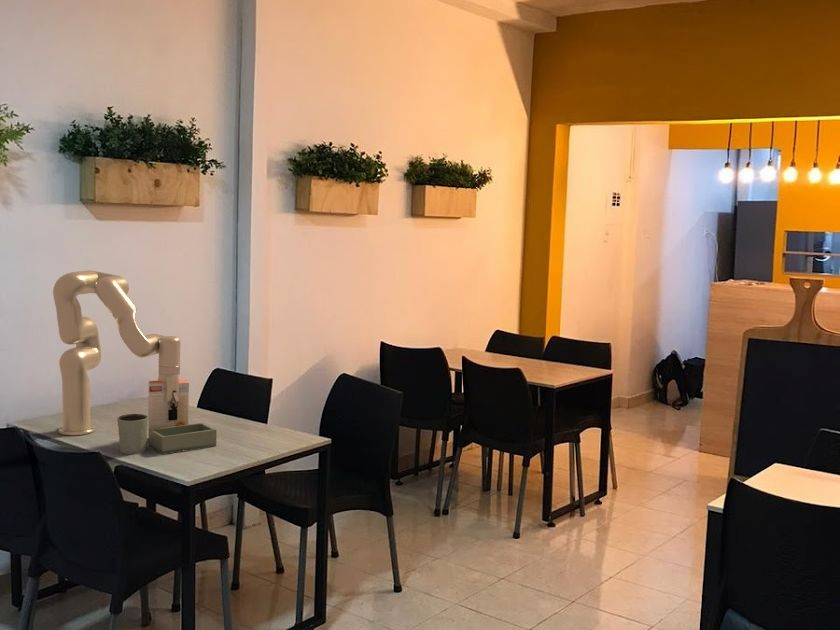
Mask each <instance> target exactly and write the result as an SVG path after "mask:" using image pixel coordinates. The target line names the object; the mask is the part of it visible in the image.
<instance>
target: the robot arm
mask: <svg viewBox="0 0 840 630" xmlns="http://www.w3.org/2000/svg"><path fill="white" fill-rule="evenodd" d="M129 289H130V286H129V282H128V281H127V279H125V278H124V277H122V276H121V275H116V274H112V273H105V272H101V271H96V270H81V271H80V270H78V271H72V272H68V273H65V274H63V275H62V276H60V277H59V278H58V279H57V280H56V281H55V283H54V284H53V290H52V296H53V300H54V306H55V310H56V311H55V312H56V319H57V327H58V328H57V329H58V334H59V337H60V340H61V341H62V343H64V344H65V345H75V346H76V347H73V348H69V349H66V350H65V351H64V352H63V353H62V354H61V355H60V358H59V361H58V362H59V370H60V375H61V387H62V390H61V391H62V426H61V427H59V429H58V431H57V432H58V433H59V434H60V435H64V436H82V435H88V434H91V433H93V432H95V430H96V427H95V426H93V425H91V389H90V388H91V384H90V379H89V376H88V371H90V370H93V369H95V368H96V367H98V366H99V364H101V361H102V349H101V343H100V335H99V330H98V326H97V324H96V322H95V321H94V320H93V319H92V318H90V317H88V316H83V315H82V308H81V307H82V306H81V304H80V302H79V300H78V298H77V296H79V295H87V294H94V295H95V294H96V296H97V297H98V299H99V300H100V301H101V302H102V303H103V304H102V305H104V306H105V308H106V309H107V310H108V311H109V313H110V314H111V315H112V317H113V318H114V319H115V321H116V324H117V329H118V333H119V335H120V338H121V340H122V341H123V343H124V344H125V345H126V346H127V348H128V349H129V351H130V352H131V353H132V354H134V355H135V356H136V357H138V358H147V357H151V356H153V355H157V354H158V373H157V374H158V377H157V381H160V382H162V383H164V402H165V403H169V409H170V410H168V420H169V421H171V420H177V409H178V404H179V380H180V376H179V375H180V374H181V339H180V338H179V337H178V336H174V335H173V336H172V335H162V334H157V333H150V334H146V335H144V334H143V332H142V331H141V330H140V328H139V327H138V325H137V323H136V318H135V317H136V313H137V309H138V308H137V306H136V305H135V304H134V302H133V301H132V299H131V298H130V297H129V295H128V294H129V291H130V290H129ZM172 399H174V401H170V400H172ZM171 403H173V404H172V405H171Z"/></svg>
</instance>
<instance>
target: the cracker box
mask: <svg viewBox="0 0 840 630" xmlns="http://www.w3.org/2000/svg"><path fill="white" fill-rule="evenodd" d="M189 392H190V382H189V381H188V379H179V404H178V409H177V420H171V421H169V420H168V410H170V409H169V403H165V402H164V383H162V382H160V381H158V380H148V397H147V398H148V402H147V403H148V415H147V416H148V426H147V437H149V430H151V429H158V428H166V427H173V426H181V425H189V417H190V415H189V411H190V410H189V409H190V408H189V407H190V404H189V403H190V401H189V399H190V395H189V394H190V393H189ZM170 401H174V399H172V400H170ZM172 404H173V403H171V405H172Z"/></svg>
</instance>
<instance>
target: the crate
mask: <svg viewBox="0 0 840 630" xmlns="http://www.w3.org/2000/svg"><path fill="white" fill-rule="evenodd" d="M148 441H149V443H148V444H149V445H148V446H149V447H150V448H151V449H153V450H155V451H157V452H158V453H160V454H161V455H165V453H167V454H172V453H171V452H174V453H178V452H177V451H180V452H184V451H183V450H187V451H192V450H191V449H193V450H198V448H200V449H205V448H204V447H206V448H212V447H211V446H213V447H216V446H217V429H216V428H215V427H211V426H210V425H208V424H206V423H204V422H197V423H190V424H189V423H188V425H181V426H173V427H166V428H158V429H151V430H149V436H148Z"/></svg>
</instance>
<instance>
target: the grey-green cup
mask: <svg viewBox="0 0 840 630" xmlns="http://www.w3.org/2000/svg"><path fill="white" fill-rule="evenodd" d="M116 419H117V426H118V435H119V436H118V437H119V451H120V453H121V454H126V455H136V454H141V453H145V452H146V451H147V441H148V440H147V439H148V415H146V414H142V413H128V414H122V415H119V416H118V417H117V418H116Z"/></svg>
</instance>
